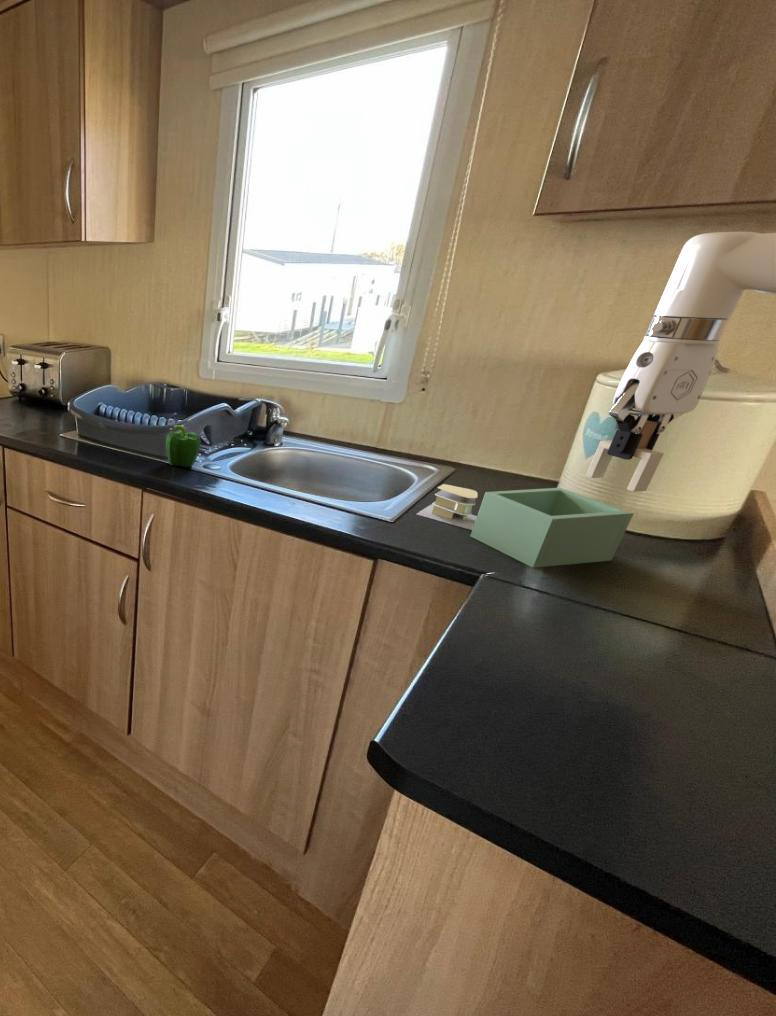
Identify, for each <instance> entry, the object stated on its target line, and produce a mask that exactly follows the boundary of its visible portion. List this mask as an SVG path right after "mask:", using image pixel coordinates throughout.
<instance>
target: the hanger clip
mask: <svg viewBox="0 0 776 1016" xmlns="http://www.w3.org/2000/svg"><path fill="white" fill-rule="evenodd" d="M636 419H637V418H635V420H636ZM657 424H658V423H657V422H652V421H647V420H646V422H645V424H644V426H643V428H642V430H641V432H640V433H639V434H643V436H642V438H641V440H640V442H639V444H638V447H637V449H636V451H635V453H634V455H633V457H634V456H635V458H638V457H639V458H638V459H640V460H639V463H638V465H637V466H636V469H635V470H634V472H633V475H632V477H631V479H630V482H629V483H628V485H627V488H626V490H628V491H630V492H634V493H635V492H646V491H647V490H648V487H649V485H650V484H651V481H652V479H653V477H654V475H655V472H656V470H657V468H658V467H659V464H660V462H661V461H662V459H663V456H664V455H665V452H661V451H657V450H649V449H645V448H646V447H647V445H648V443H649V441H650V439H651V436H652V434H653V432H654V430H655V428H656V426H657ZM612 440H613V439H609V440H600V441H599V443H598V445H597V449H596V451H595V453H594V455H593V458H592V460H591V463H590V465H589V466H588V469H587V472H586V474H585V477H587V478H590V479H599V478H604V476H605V475H606V472H607V469H608V467H609V465H610V463H611V461H612V459H613V456H611V455H608V454H607V451H608V449H609V447H610V445H611V442H612Z"/></svg>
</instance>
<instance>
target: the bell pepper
mask: <svg viewBox="0 0 776 1016" xmlns="http://www.w3.org/2000/svg"><path fill="white" fill-rule="evenodd" d="M173 428H174V430H175V432H168V434H167V436H166V441H165V450H166V458H167V461H168V463H169V465H171V466H174V467H183V468H190V467H192V466H194V464H195V463H196V460H197V458H198V455H199V452H200V448H201V438H200V435H197V434H196V433H195V432H194V431H190V432H186V429H185V427H183V426H182V425H173ZM176 430H179V431H176Z"/></svg>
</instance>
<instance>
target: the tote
mask: <svg viewBox="0 0 776 1016" xmlns="http://www.w3.org/2000/svg"><path fill="white" fill-rule="evenodd" d="M476 516H477V518H476V521H475V524H474V527H473V530H471V533H470V537H471V538H473V539H475V540H477V541H478V542H481V543H483V544H485V545H487V546H489V547H490V548H492V549H494V550H496V551H499V552H500V553H502V554H504V555H506V556H509V557H510V558H512V559H514V560H516V561H519V562H521V564H524V565H527V566H528V567H530V568H532V569H535V568H544V567H554V566H555V567H557V566H566V565H567V566H568V565H577V564H588V563H590V564H591V563H599V562H601V563H602V562H611V561H613V558H614V557H615V554H616V552H617V550H618V548H619V546H620V543H621V541H622V539H623V537H624V535H625V533H626V532H627V529H628V527H629V526H630V522H631V521H632V519H633V516H634V512H632V511H628V510H626V509H623V508H620V507H617V506H614V505H611V504H608V503H605V502H602V501H600V500H596V499H594V498H591V497H588V496H585V495H582V494H579V493H576V492H574V491H571V490H568V489H566V488H562V487H550V488H549V487H548V488H533V489H516V490H515V489H513V490H499V491H498V490H497V491H496V490H495V491H485V493H484V495H483V499H482V502H481V504H480V507H479V510H478V513H477V515H476Z"/></svg>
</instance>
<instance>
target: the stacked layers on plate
mask: <svg viewBox="0 0 776 1016" xmlns="http://www.w3.org/2000/svg"><path fill="white" fill-rule="evenodd" d="M437 489H439V491H438V492H435V493H434V495H435V496H436V498H435V500H434V501H433V502H432V503H431V504H429V505H427V506H426V507H424V508H423V509H422V510H420V511H418V512H417V513H416V516H420V517H424V518H428V519H430V520H435V521H438V522H440V523H441V522H442V523H444V524H449V525H453V526H455V527H459V528H463V529H467V530H470V531H472V530H473V527H474V524H475V521H476V518H477V515H474V514H473V506H476V499H477V498H478V496H479V495H478V492H477V490H474V489H472V488H471V489H470V488H466V487H461V486H455V485H451V484H446V483H443V484H441V485H439V486H437Z"/></svg>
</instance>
